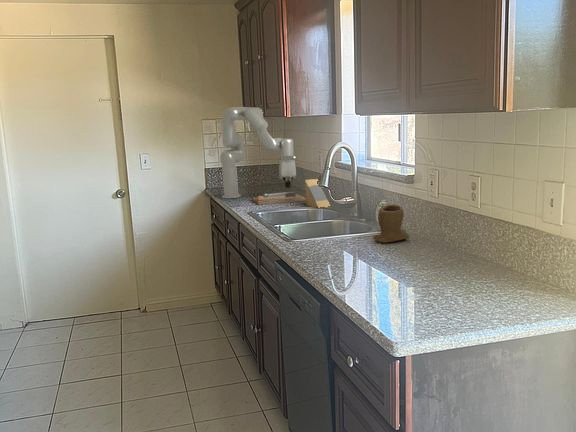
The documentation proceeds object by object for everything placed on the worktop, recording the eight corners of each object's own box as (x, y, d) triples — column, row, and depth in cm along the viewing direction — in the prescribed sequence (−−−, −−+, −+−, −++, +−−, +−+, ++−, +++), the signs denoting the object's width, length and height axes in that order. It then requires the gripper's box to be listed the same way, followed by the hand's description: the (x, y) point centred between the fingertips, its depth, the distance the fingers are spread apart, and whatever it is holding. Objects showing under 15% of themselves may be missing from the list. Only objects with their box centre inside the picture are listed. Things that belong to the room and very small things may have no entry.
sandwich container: (318, 208, 325) (317, 182, 322) (305, 205, 338) (304, 180, 336) (331, 207, 329) (330, 180, 326) (318, 203, 342) (317, 178, 339)
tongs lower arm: (260, 199, 355) (260, 197, 355) (258, 198, 359) (258, 196, 358) (295, 196, 361) (295, 194, 361) (294, 195, 365) (293, 193, 365)
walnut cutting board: (251, 200, 366) (251, 197, 365) (296, 196, 373) (296, 193, 373) (258, 204, 348) (258, 201, 347) (305, 200, 355) (305, 197, 355)
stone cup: (385, 246, 229) (384, 209, 226) (369, 240, 239) (368, 205, 237) (416, 241, 235) (416, 205, 232) (399, 236, 245) (399, 201, 243)
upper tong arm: (264, 197, 356) (264, 194, 356) (263, 196, 359) (263, 193, 359) (295, 194, 361) (295, 191, 361) (293, 193, 365) (293, 190, 364)
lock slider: (258, 200, 352) (258, 196, 352) (257, 199, 355) (257, 196, 354) (263, 199, 353) (263, 196, 353) (262, 199, 355) (262, 195, 355)
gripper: (297, 157, 364) (297, 186, 367) (274, 158, 360) (274, 187, 363) (300, 158, 356) (301, 187, 360) (277, 159, 352) (278, 189, 356)
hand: (287, 187), depth 362 cm, fingers closed
